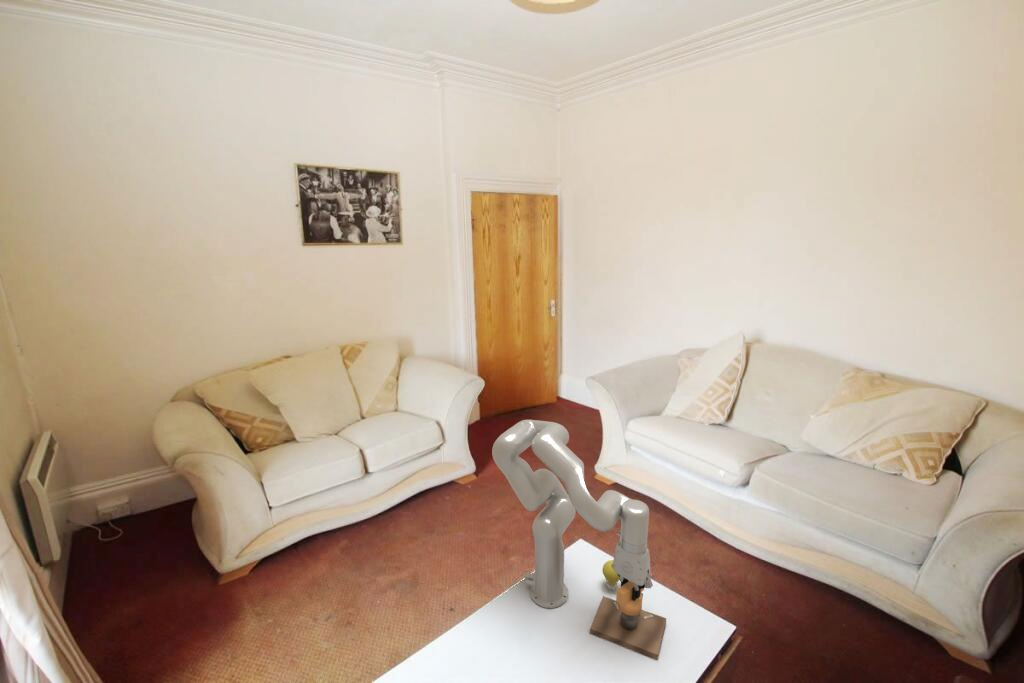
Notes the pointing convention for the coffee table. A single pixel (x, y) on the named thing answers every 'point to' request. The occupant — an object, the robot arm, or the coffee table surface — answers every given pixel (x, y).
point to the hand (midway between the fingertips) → (630, 594)
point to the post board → (629, 638)
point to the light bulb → (610, 575)
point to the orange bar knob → (628, 599)
